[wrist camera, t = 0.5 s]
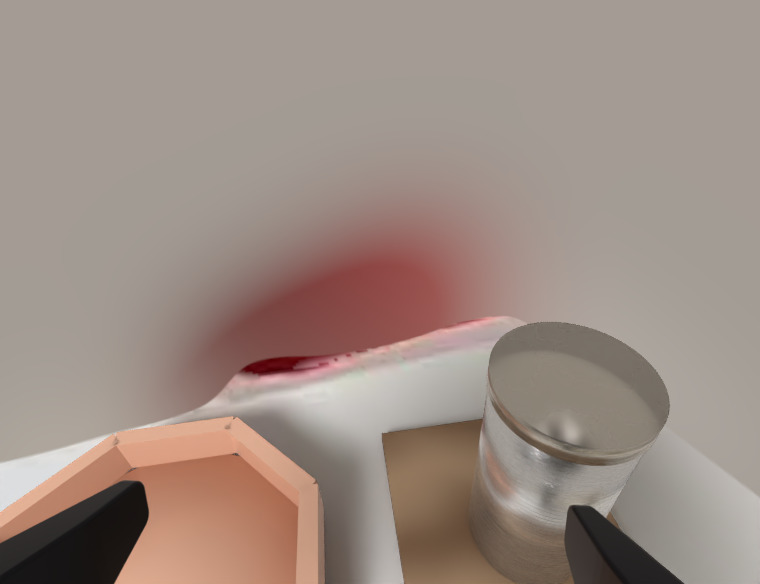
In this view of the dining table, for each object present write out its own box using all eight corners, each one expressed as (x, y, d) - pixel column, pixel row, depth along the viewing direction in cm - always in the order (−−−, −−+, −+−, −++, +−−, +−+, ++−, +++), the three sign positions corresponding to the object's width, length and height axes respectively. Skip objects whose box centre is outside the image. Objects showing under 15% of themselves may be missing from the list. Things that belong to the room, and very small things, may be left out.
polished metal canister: (609, 578, 20) (715, 433, 13) (488, 600, 19) (530, 461, 12) (550, 463, 25) (603, 314, 18) (453, 479, 24) (468, 331, 17)
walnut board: (738, 751, 16) (748, 748, 15) (440, 818, 15) (441, 817, 14) (547, 416, 29) (549, 409, 28) (382, 440, 28) (381, 433, 27)
